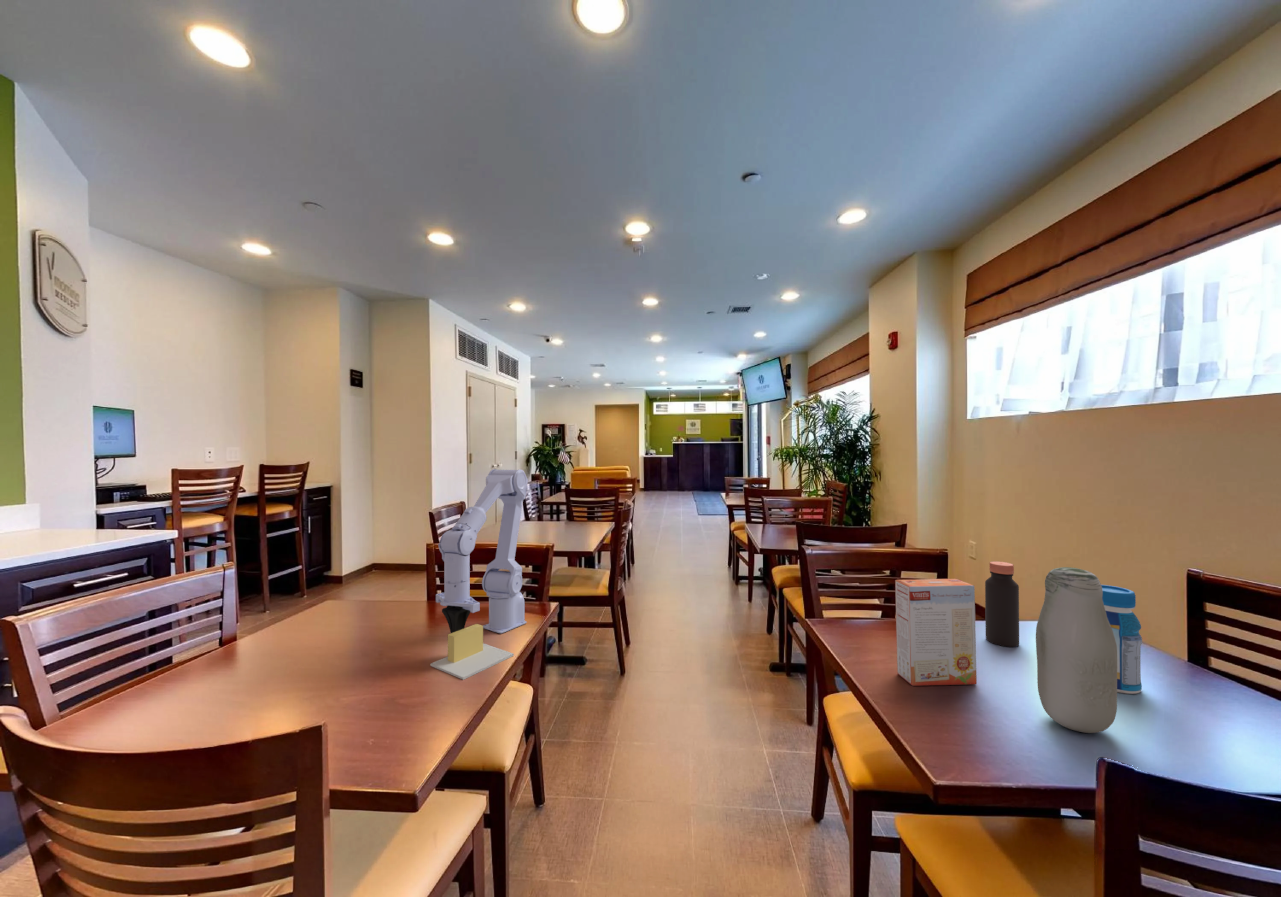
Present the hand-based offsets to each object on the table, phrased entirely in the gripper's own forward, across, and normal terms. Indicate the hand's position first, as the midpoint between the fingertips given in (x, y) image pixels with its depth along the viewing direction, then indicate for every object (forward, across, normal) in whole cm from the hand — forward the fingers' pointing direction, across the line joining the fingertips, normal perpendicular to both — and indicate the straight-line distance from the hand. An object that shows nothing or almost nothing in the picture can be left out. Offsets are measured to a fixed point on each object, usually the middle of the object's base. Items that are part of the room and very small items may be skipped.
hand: (457, 636), depth 112 cm
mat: (+4, +6, 0) cm, 7 cm away
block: (+4, +3, 0) cm, 5 cm away
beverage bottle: (+5, +128, +66) cm, 144 cm away
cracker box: (+5, +97, +48) cm, 108 cm away
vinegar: (+5, +111, +80) cm, 137 cm away
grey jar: (+5, +118, +42) cm, 125 cm away
